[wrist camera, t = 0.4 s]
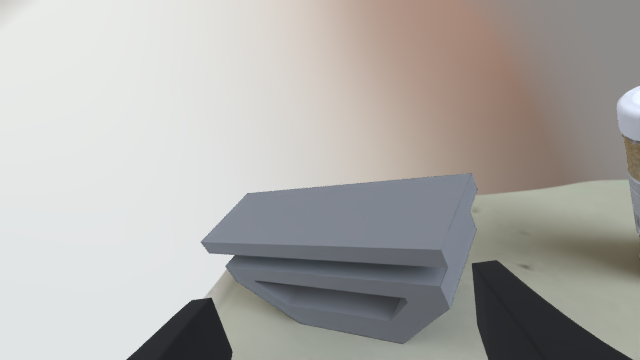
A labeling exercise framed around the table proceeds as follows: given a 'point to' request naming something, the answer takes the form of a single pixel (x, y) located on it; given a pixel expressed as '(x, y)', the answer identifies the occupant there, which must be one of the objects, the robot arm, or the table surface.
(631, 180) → the sprinkles bottle
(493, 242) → the table surface
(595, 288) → the table surface
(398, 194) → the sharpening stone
